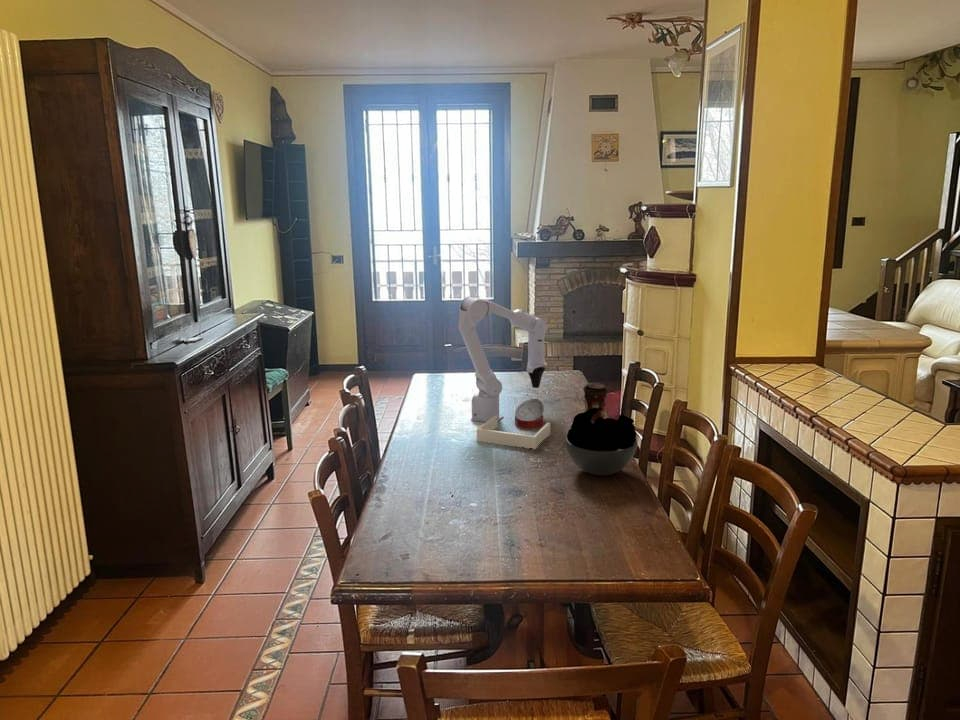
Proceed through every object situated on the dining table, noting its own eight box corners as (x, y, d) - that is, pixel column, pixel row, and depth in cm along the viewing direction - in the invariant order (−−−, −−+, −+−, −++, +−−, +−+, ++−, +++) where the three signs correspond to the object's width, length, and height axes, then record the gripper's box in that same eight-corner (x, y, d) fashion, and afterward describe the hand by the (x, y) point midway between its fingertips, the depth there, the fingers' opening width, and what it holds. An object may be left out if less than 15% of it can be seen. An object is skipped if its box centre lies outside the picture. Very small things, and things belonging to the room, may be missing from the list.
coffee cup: (578, 422, 235) (579, 386, 232) (586, 415, 242) (587, 380, 239) (602, 426, 231) (604, 389, 228) (610, 419, 238) (611, 383, 235)
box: (476, 440, 218) (476, 429, 217) (494, 426, 231) (494, 415, 230) (535, 449, 210) (535, 437, 209) (550, 434, 223) (550, 422, 222)
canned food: (543, 437, 234) (552, 417, 228) (517, 438, 230) (526, 418, 224) (532, 414, 242) (541, 394, 236) (507, 415, 238) (515, 394, 232)
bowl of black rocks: (552, 465, 198) (553, 403, 193) (611, 455, 204) (613, 395, 200) (586, 491, 179) (588, 424, 175) (650, 480, 186) (653, 415, 182)
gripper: (540, 356, 233) (540, 393, 236) (553, 347, 246) (552, 383, 249) (521, 354, 236) (521, 391, 239) (534, 346, 249) (534, 381, 252)
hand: (535, 387), depth 244 cm, fingers closed
